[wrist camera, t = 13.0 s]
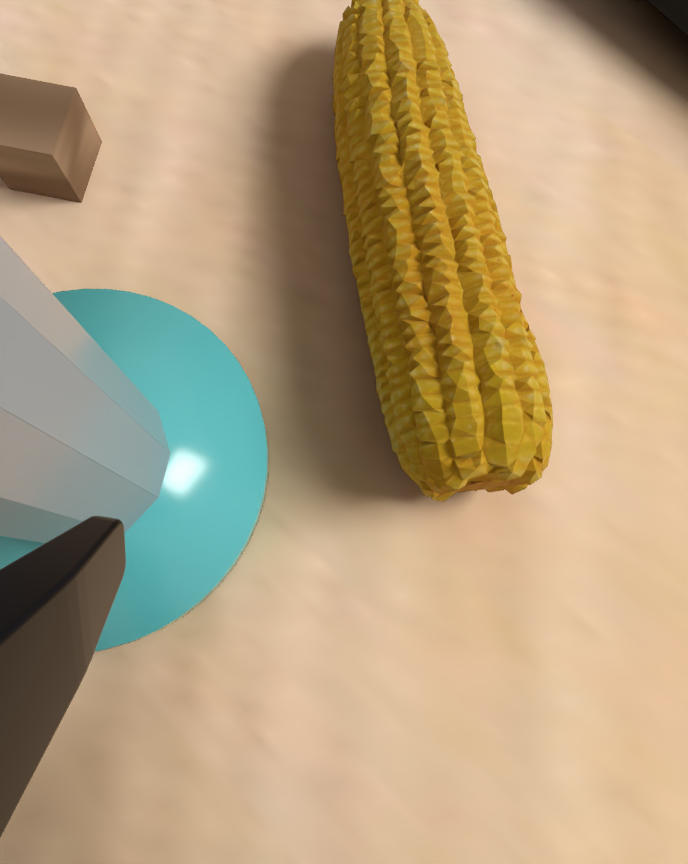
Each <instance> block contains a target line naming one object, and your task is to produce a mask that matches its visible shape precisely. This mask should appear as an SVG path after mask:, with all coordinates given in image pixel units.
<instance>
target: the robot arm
mask: <svg viewBox="0 0 688 864" xmlns="http://www.w3.org/2000/svg"><path fill="white" fill-rule="evenodd" d="M125 566H126V553H125V534H124V525H123V523H122V521H121V520H119V519H116V518H110V517H104V516H92V517H90V518H88V519H86V520H84V521H82V522H81V523H79V524H77V525H76V526H74V527H72V528H70V529H69V530H67V531H65V532H64V533H62V534H60V535H58V536H57V537H55V538H53V539H52V540H50V541H48V542H46V543H45V544H43V545H41V546H39V547H38V548H36V549H34V550H33V551H31V552H29V553H27V554H26V555H24V556H22V557H21V558H19V559H17V560H15V561H14V562H12V563H10V564H8V565H7V566H5V567H3V568H2V569H0V837H1V835H2V833H3V831H4V829H5V827H6V825H7V824H8V822H9V820H10V818H11V816H12V814H13V812H14V810H15V808H16V806H17V804H18V802H19V801H20V799H21V797H22V795H23V793H24V791H25V789H26V787H27V785H28V783H29V781H30V779H31V777H32V776H33V774H34V772H35V770H36V768H37V766H38V764H39V762H40V760H41V758H42V756H43V754H44V753H45V751H46V749H47V747H48V745H49V743H50V741H51V739H52V737H53V735H54V733H55V731H56V730H57V728H58V726H59V724H60V722H61V720H62V718H63V716H64V714H65V712H66V710H67V708H68V707H69V705H70V703H71V701H72V699H73V697H74V695H75V693H76V691H77V689H78V687H79V685H80V683H81V681H82V679H83V677H84V675H85V673H86V671H87V668H88V666H89V664H90V661H91V659H92V656H93V654H94V651H95V649H96V646H97V643H98V641H99V638H100V636H101V633H102V630H103V628H104V625H105V623H106V620H107V617H108V615H109V612H110V610H111V607H112V604H113V602H114V599H115V597H116V594H117V592H118V589H119V586H120V584H121V581H122V578H123V576H124V572H125Z"/></svg>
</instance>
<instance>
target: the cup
mask: <svg viewBox="0 0 688 864" xmlns="http://www.w3.org/2000/svg"><path fill="white" fill-rule="evenodd" d="M169 457H170V450H169V446H168V443H167V439H166V436H165V432H164V429H163V425H162V422H161V418H160V415H159V412H158V411H157V409H156V408H155V407H154V406H153V405H152V404H151V403H150V402H149V401H148V399H147V398H146V397H145V396H144V395H143V394H142V393H141V392H140V391H139V389H138V388H137V387H136V386H135V385H134V384H133V383H132V382H131V381H130V379H129V378H128V377H127V376H126V375H125V374H124V373H123V372H122V371H121V369H120V368H119V367H118V366H117V365H116V364H115V363H114V362H113V361H112V359H111V358H110V357H109V356H108V355H107V354H106V353H105V352H104V351H103V349H102V348H101V347H100V346H99V345H98V344H97V343H96V342H95V341H94V339H93V338H92V337H91V336H90V335H89V334H88V333H87V332H86V331H85V329H84V328H83V327H82V326H81V325H80V324H79V323H78V322H77V321H76V319H75V318H74V317H73V316H72V315H71V314H70V313H69V312H68V311H67V309H66V308H65V307H64V306H63V305H62V304H61V303H60V302H59V301H58V299H57V298H56V297H55V296H54V295H53V294H52V293H51V292H50V291H49V289H48V288H47V287H46V286H45V285H44V284H43V283H42V282H41V281H40V279H39V278H38V277H37V276H36V275H35V274H34V273H33V272H32V271H31V269H30V268H29V267H28V266H27V265H26V264H25V263H24V262H23V261H22V259H21V258H20V257H19V256H18V255H17V254H16V253H15V252H14V251H13V249H12V248H11V247H10V246H9V245H8V244H7V243H6V242H5V241H4V239H3V238H2V237H1V236H0V536H5V537H11V538H17V539H23V540H29V541H35V542H41V543H46V542H48V541H50V540H52V539H53V538H55V537H57V536H58V535H60V534H62V533H64V532H65V531H67V530H69V529H70V528H72V527H74V526H76V525H77V524H79V523H81V522H82V521H84V520H86V519H88V518H90V517H92V516H104V517H110V518H116V519H119V520H121V521H122V523H123V525H124V533H125V532H126V531H127V530H128V529H129V528H130V527H131V526H132V525H133V524H134V523H135V522H136V521H137V520H138V519H139V518H140V517H141V516H142V515H143V514H144V513H145V511H146V510H147V509H148V508H149V507H150V506H151V505H152V504H153V503H154V502H155V501H156V500H157V499H158V498H159V494H160V491H161V487H162V483H163V479H164V476H165V472H166V468H167V465H168V461H169Z"/></svg>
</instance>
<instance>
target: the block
mask: <svg viewBox="0 0 688 864" xmlns="http://www.w3.org/2000/svg"><path fill="white" fill-rule="evenodd" d="M101 143H102V141H101V139H100V137H99V135H98V132H97V130H96V128H95V126H94V124H93V122H92V120H91V118H90V116H89V114H88V112H87V110H86V108H85V105H84V103H83V101H82V99H81V97H80V95H79V93H78V91H77V89H76V88H74V87H68V86H63V85H58V84H52V83H47V82H42V81H37V80H31V79H26V78H21V77H15V76H10V75H5V74H0V177H1V178H2V179H3V181H4V182H5V183H6V184H7V186H8V187H9V188H10V189H12V190H18V191H23V192H28V193H33V194H39V195H44V196H49V197H54V198H60V199H65V200H70V201H75V202H82V200H83V197H84V194H85V191H86V188H87V185H88V182H89V179H90V176H91V173H92V170H93V167H94V164H95V161H96V158H97V155H98V152H99V149H100V146H101Z"/></svg>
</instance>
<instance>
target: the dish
mask: <svg viewBox="0 0 688 864" xmlns="http://www.w3.org/2000/svg"><path fill="white" fill-rule="evenodd" d="M52 294H53V295H54V296H55V297H56V298H57V299H58V301H59V302H60V303H61V304H62V305H63V306H64V307H65V308H66V309H67V311H68V312H69V313H70V314H71V315H72V316H73V317H74V318H75V319H76V321H77V322H78V323H79V324H80V325H81V326H82V327H83V328H84V329H85V331H86V332H87V333H88V334H89V335H90V336H91V337H92V338H93V339H94V341H95V342H96V343H97V344H98V345H99V346H100V347H101V348H102V349H103V351H104V352H105V353H106V354H107V355H108V356H109V357H110V358H111V359H112V361H113V362H114V363H115V364H116V365H117V366H118V367H119V368H120V369H121V371H122V372H123V373H124V374H125V375H126V376H127V377H128V378H129V379H130V381H131V382H132V383H133V384H134V385H135V386H136V387H137V388H138V389H139V391H140V392H141V393H142V394H143V395H144V396H145V397H146V398H147V399H148V401H149V402H150V403H151V404H152V405H153V406H154V407H155V408H156V409H157V411H158V412H159V415H160V418H161V422H162V425H163V429H164V432H165V436H166V439H167V443H168V446H169V450H170V457H169V461H168V465H167V468H166V472H165V476H164V479H163V483H162V487H161V491H160V494H159V498H158V499H157V500H156V501H155V502H154V503H153V504H152V505H151V506H150V507H149V508H148V509H147V510H146V511H145V513H144V514H143V515H142V516H141V517H140V518H139V519H138V520H137V521H136V522H135V523H134V524H133V525H132V526H131V527H130V528H129V529H128V530H127V531H126V532H125V533H124V534H125V553H126V566H125V572H124V576H123V578H122V581H121V584H120V586H119V589H118V592H117V594H116V597H115V599H114V602H113V604H112V607H111V610H110V612H109V615H108V617H107V620H106V623H105V625H104V628H103V630H102V633H101V636H100V638H99V641H98V643H97V646H96V649H95V651H100V650H104V649H108V648H111V647H115V646H118V645H122V644H125V643H129V642H132V641H135V640H139V639H141V638H143V637H146V636H148V635H150V634H152V633H155V632H157V631H159V630H162V629H163V628H165V627H167V626H168V625H170V624H172V623H173V622H175V621H177V620H179V619H180V618H182V617H184V616H185V615H186V614H187V613H189V612H190V611H191V610H193V609H194V608H195V607H196V606H198V605H199V604H200V603H202V602H203V601H204V600H205V599H206V598H207V597H208V596H209V595H210V594H211V593H212V592H213V591H214V590H215V589H216V588H217V587H218V586H219V585H220V584H221V583H222V582H223V581H224V579H225V578H226V577H227V575H228V574H229V573H230V572H231V570H232V569H233V568H234V566H235V565H236V564H237V562H238V561H239V559H240V557H241V555H242V554H243V552H244V550H245V549H246V547H247V545H248V544H249V542H250V539H251V537H252V535H253V533H254V530H255V528H256V526H257V523H258V521H259V518H260V514H261V511H262V507H263V504H264V500H265V496H266V489H267V483H268V476H269V450H268V441H267V432H266V428H265V424H264V420H263V416H262V412H261V409H260V406H259V403H258V400H257V398H256V395H255V393H254V390H253V388H252V385H251V383H250V381H249V379H248V377H247V376H246V374H245V372H244V370H243V369H242V367H241V365H240V363H239V362H238V361H237V359H236V358H235V357H234V355H233V354H232V353H231V352H230V350H229V349H228V348H227V346H226V345H225V344H224V343H223V342H222V341H221V340H220V339H219V338H218V337H217V336H216V335H215V334H214V333H213V332H212V331H210V330H209V329H208V328H207V327H205V326H204V325H203V324H201V323H200V322H199V321H197V320H196V319H195V318H193V317H192V316H190V315H188V314H186V313H185V312H183V311H181V310H179V309H177V308H176V307H174V306H172V305H169V304H167V303H164V302H162V301H159V300H157V299H154V298H151V297H148V296H144V295H140V294H136V293H132V292H126V291H118V290H111V289H79V290H69V291H61V292H56V293H52ZM43 544H45V543H41V542H35V541H29V540H23V539H17V538H11V537H5V536H0V569H2V568H3V567H5V566H7V565H8V564H10V563H12V562H14V561H15V560H17V559H19V558H21V557H22V556H24V555H26V554H27V553H29V552H31V551H33V550H34V549H36V548H38V547H39V546H41V545H43Z"/></svg>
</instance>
